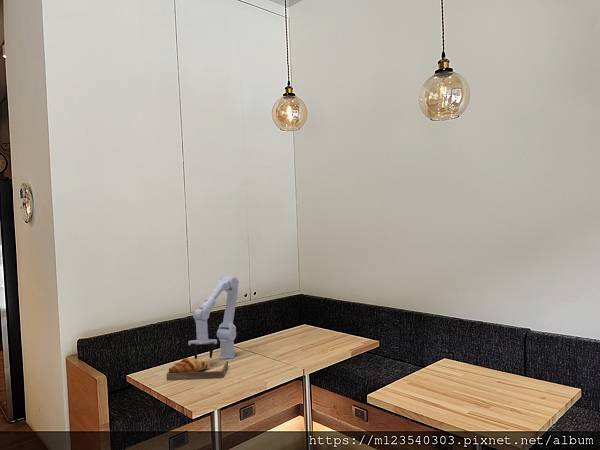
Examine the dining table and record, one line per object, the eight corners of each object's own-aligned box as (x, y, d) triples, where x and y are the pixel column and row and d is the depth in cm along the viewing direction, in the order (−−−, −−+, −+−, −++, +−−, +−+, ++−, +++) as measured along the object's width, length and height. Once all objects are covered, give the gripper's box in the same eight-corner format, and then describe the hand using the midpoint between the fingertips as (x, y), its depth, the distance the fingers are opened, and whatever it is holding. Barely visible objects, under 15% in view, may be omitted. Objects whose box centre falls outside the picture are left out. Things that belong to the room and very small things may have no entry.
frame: (176, 369, 227) (175, 363, 227) (228, 366, 227) (228, 361, 227) (166, 380, 212) (166, 374, 212) (222, 377, 212) (222, 371, 212)
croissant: (207, 374, 228) (203, 360, 232) (215, 366, 222) (211, 351, 226) (167, 381, 214) (164, 365, 219) (174, 372, 209) (171, 356, 213)
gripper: (186, 334, 227) (187, 361, 227) (214, 333, 227) (216, 359, 227) (189, 331, 234) (191, 356, 234) (217, 329, 234) (218, 355, 234)
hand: (203, 358), depth 231 cm, fingers open, 7 cm apart
